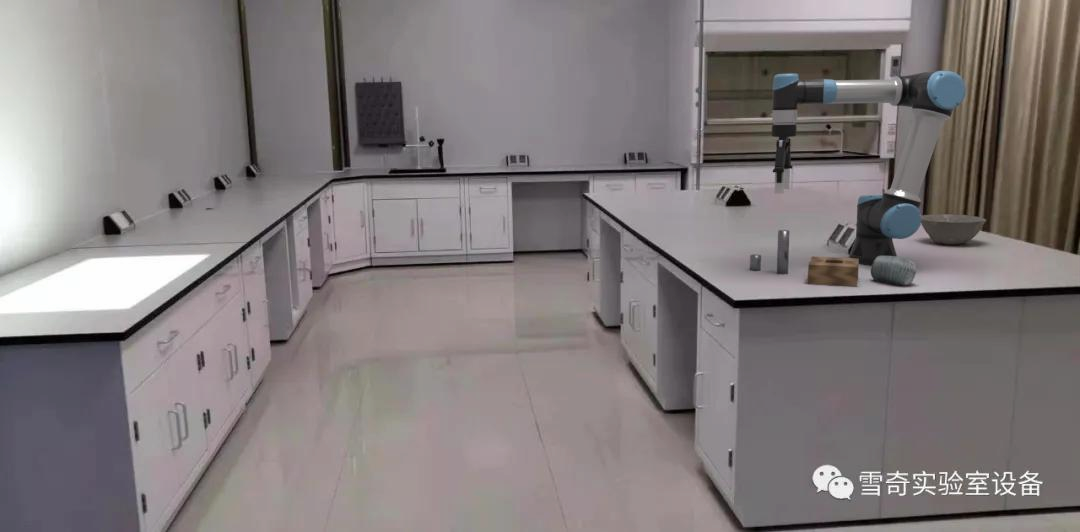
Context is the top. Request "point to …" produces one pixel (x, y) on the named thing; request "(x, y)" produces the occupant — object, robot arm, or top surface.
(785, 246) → the long pin
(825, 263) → the socket block
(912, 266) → the spool
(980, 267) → the top surface
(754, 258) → the short pin
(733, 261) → the top surface
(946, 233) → the ceramic bowl
